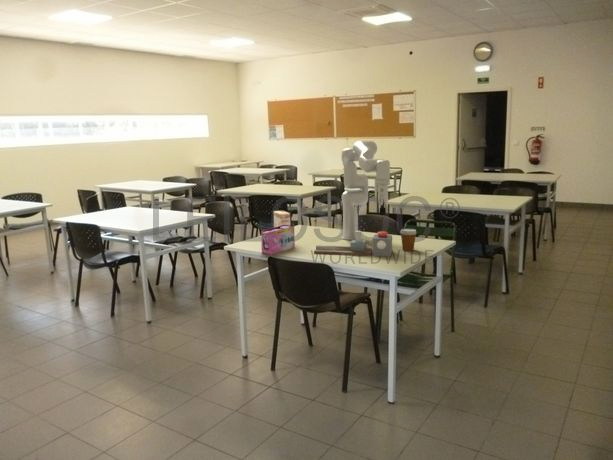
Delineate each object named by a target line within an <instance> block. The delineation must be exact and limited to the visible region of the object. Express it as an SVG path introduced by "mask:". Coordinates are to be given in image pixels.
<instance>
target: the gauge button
mask: <svg viewBox="0 0 613 460" xmlns="http://www.w3.org/2000/svg"><path fill="white" fill-rule="evenodd" d="M377 234H378V236H379V237H384V238H386V236H387V235H389V233H388V231H383V230H382V231H377Z"/></svg>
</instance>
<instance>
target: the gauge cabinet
mask: <svg viewBox="0 0 613 460" xmlns="http://www.w3.org/2000/svg"><path fill="white" fill-rule="evenodd" d="M372 248H373V252H372V256H373V257H391V256H392V253H393V234H388V235H387V236H386V238H384V237H379V236H378V233H376V234H374V235H373V237H372Z"/></svg>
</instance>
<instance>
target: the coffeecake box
mask: <svg viewBox="0 0 613 460" xmlns="http://www.w3.org/2000/svg"><path fill="white" fill-rule="evenodd" d="M282 225H290V226H291V213H290V212H288V211H285V210H273V228H274V227H278V226H282Z"/></svg>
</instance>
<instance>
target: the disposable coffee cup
mask: <svg viewBox="0 0 613 460" xmlns="http://www.w3.org/2000/svg"><path fill="white" fill-rule="evenodd" d="M399 233H400V237H401V245H402V251H404V250H405V252H412V251H414V250H415V249H414V248H415V244H416V243H415V242H416V238H417V237H416V235H417V230H416V229H415V228H402V229H400V232H399Z"/></svg>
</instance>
